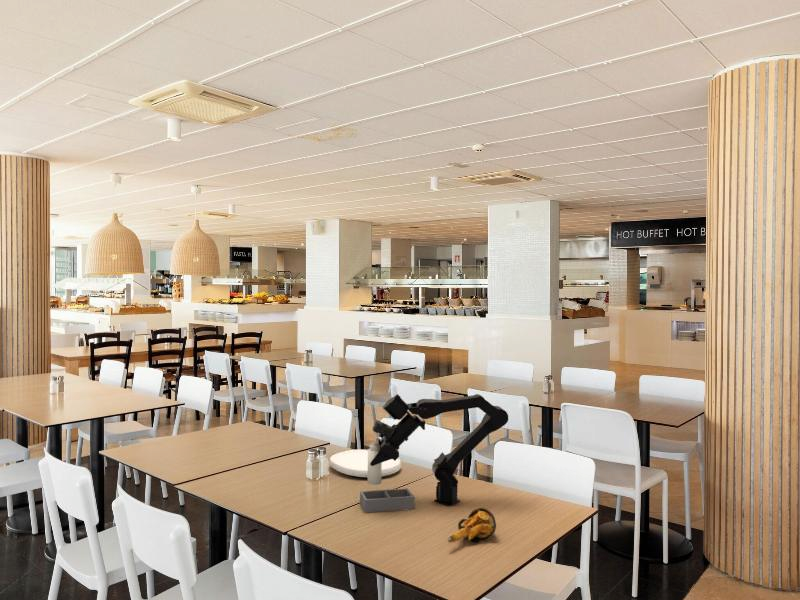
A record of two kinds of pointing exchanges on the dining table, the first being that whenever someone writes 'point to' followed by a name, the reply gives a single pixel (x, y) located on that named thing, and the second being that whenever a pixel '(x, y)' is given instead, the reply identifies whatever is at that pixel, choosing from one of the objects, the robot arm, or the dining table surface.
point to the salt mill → (375, 470)
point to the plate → (360, 463)
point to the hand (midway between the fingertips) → (370, 462)
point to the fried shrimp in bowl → (475, 527)
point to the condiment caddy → (387, 500)
